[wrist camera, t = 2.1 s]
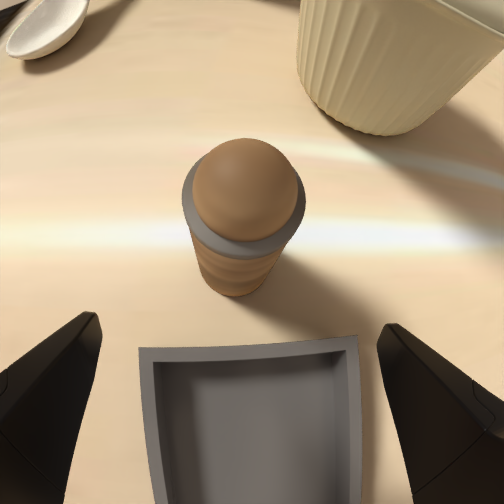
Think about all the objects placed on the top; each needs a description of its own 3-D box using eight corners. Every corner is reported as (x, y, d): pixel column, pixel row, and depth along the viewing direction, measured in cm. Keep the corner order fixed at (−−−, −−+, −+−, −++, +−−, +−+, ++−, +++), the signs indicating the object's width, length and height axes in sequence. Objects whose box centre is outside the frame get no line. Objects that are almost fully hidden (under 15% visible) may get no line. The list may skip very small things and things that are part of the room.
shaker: (272, 295, 22) (332, 231, 10) (199, 298, 21) (171, 235, 9) (266, 227, 23) (310, 110, 11) (198, 229, 23) (178, 109, 11)
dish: (340, 541, 16) (355, 562, 13) (178, 557, 15) (173, 581, 12) (337, 337, 21) (357, 334, 18) (151, 347, 20) (138, 347, 17)
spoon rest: (58, 72, 27) (39, 27, 20) (0, 74, 27) (-21, 39, 20) (150, -19, 34) (147, -55, 27) (91, -15, 34) (84, -47, 27)
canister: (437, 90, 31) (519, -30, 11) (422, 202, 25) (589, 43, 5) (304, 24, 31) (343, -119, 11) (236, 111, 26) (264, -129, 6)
